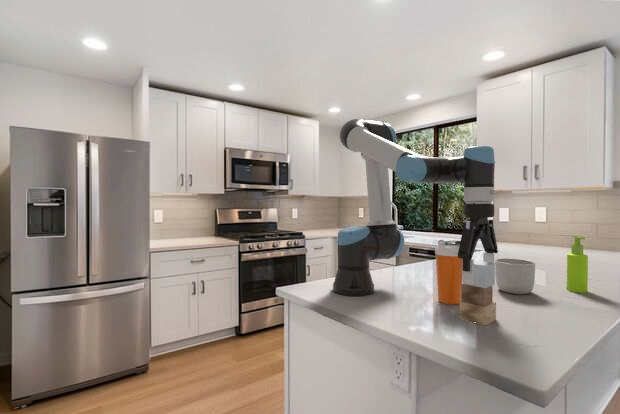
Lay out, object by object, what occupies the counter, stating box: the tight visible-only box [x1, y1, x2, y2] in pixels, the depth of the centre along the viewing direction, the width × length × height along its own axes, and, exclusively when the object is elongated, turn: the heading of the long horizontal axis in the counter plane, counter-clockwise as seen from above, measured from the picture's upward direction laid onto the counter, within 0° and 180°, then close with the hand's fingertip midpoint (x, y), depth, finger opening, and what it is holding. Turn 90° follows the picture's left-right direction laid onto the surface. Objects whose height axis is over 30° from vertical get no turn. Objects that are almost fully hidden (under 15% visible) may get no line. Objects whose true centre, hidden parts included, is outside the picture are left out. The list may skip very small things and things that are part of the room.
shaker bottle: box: [434, 239, 463, 305], centre depth 109 cm, size 9×9×20 cm
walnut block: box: [461, 283, 494, 307], centre depth 93 cm, size 6×6×5 cm
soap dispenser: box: [566, 235, 589, 294], centre depth 120 cm, size 6×7×20 cm
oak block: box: [459, 300, 497, 326], centre depth 93 cm, size 7×7×5 cm
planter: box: [494, 257, 536, 295], centre depth 120 cm, size 12×12×11 cm
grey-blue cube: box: [462, 259, 496, 288], centre depth 92 cm, size 6×6×6 cm
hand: (478, 279), depth 93 cm, fingers open, 13 cm apart
